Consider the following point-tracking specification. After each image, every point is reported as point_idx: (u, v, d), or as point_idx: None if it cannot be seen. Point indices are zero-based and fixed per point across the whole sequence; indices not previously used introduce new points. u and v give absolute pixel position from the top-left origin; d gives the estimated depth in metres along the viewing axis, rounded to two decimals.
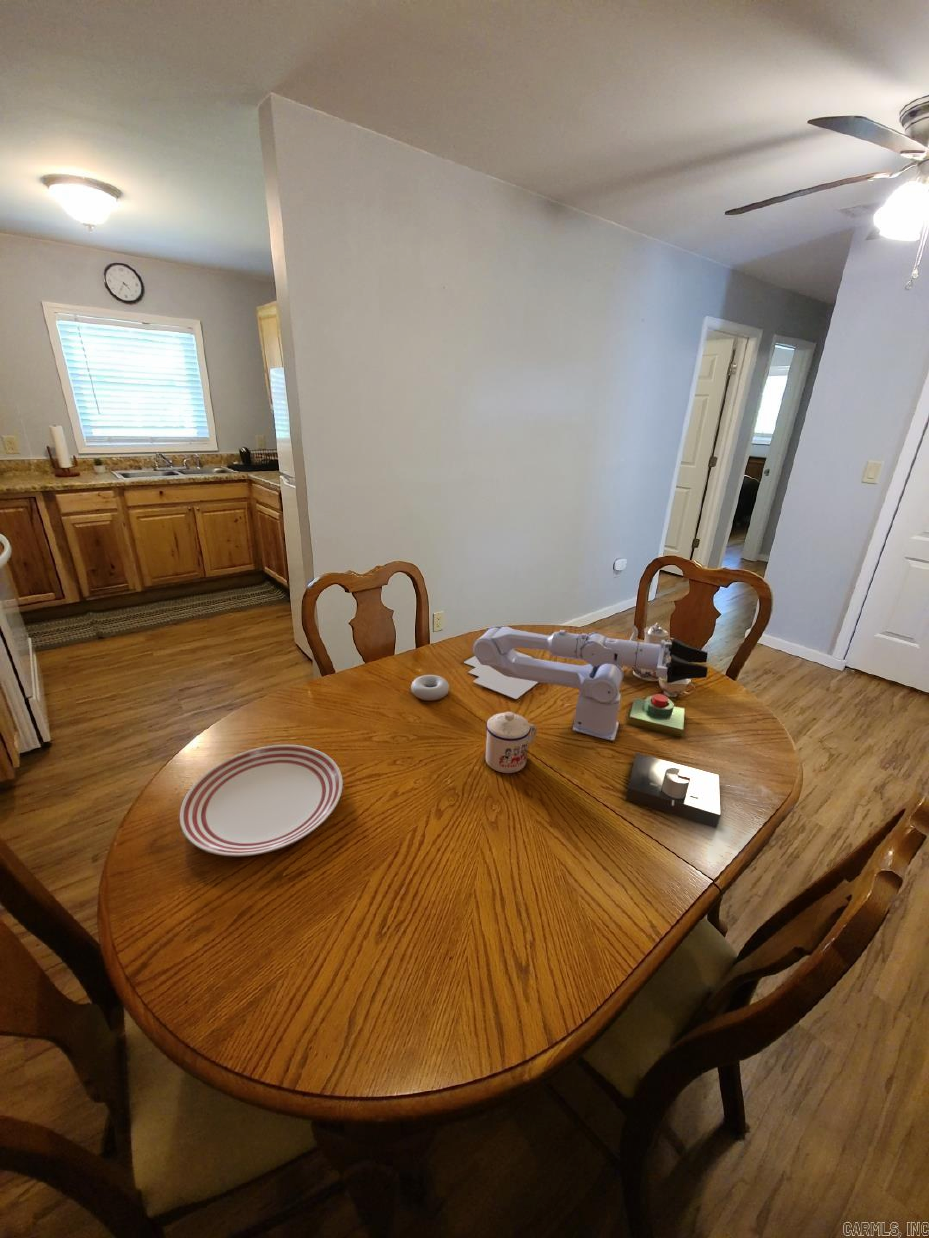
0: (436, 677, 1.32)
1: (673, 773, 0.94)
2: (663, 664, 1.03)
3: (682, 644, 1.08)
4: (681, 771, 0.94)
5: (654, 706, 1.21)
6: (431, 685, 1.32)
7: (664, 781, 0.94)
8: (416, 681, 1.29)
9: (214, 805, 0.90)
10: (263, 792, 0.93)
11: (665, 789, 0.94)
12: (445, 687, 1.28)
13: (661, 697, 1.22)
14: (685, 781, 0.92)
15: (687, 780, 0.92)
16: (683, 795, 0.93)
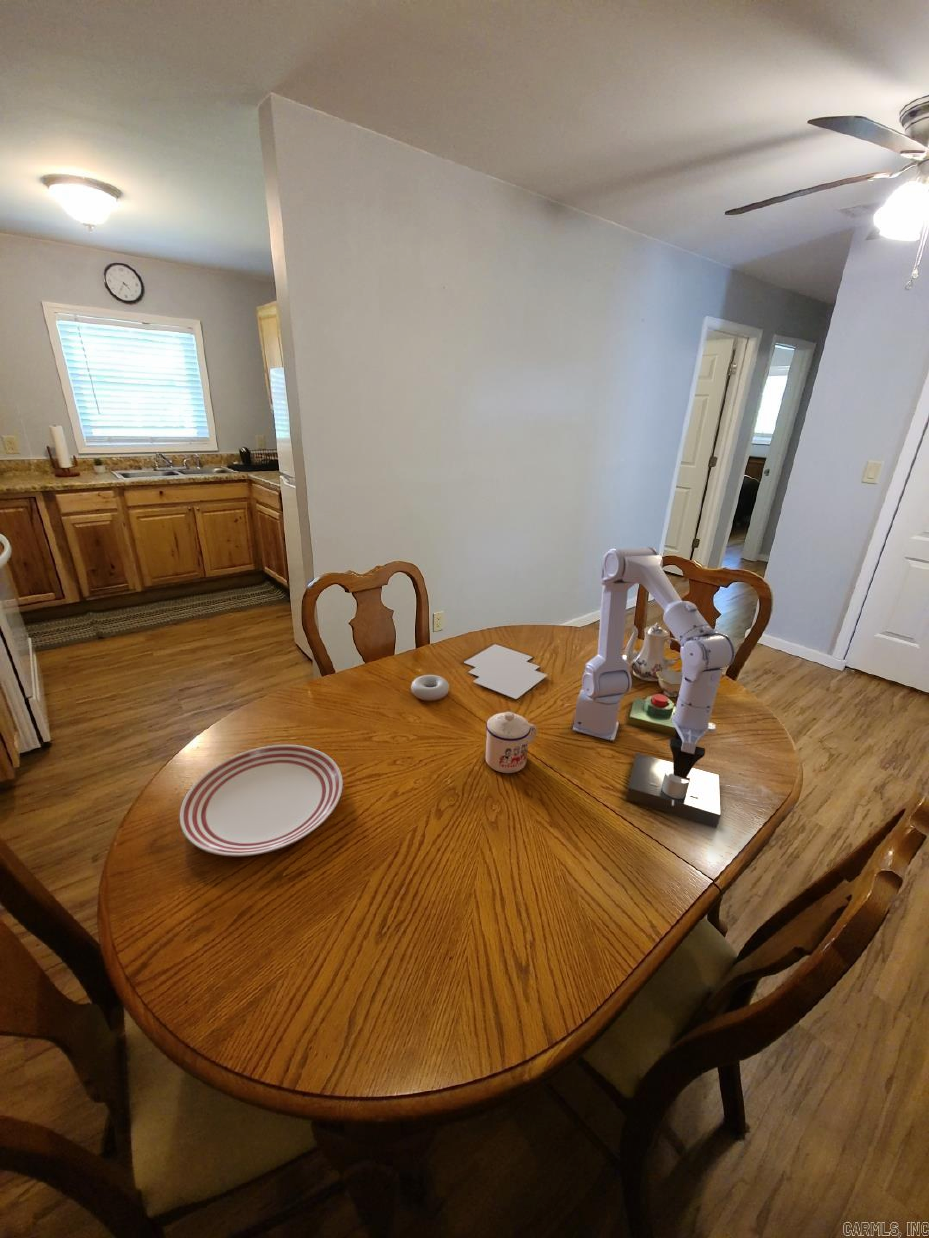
0: (436, 677, 1.32)
1: (673, 773, 0.94)
2: None
3: None
4: None
5: (654, 706, 1.21)
6: (431, 685, 1.32)
7: (664, 781, 0.94)
8: (416, 681, 1.29)
9: (214, 805, 0.90)
10: (263, 792, 0.93)
11: (665, 789, 0.94)
12: (445, 687, 1.28)
13: (661, 697, 1.22)
14: (685, 781, 0.92)
15: (687, 780, 0.92)
16: (683, 795, 0.93)
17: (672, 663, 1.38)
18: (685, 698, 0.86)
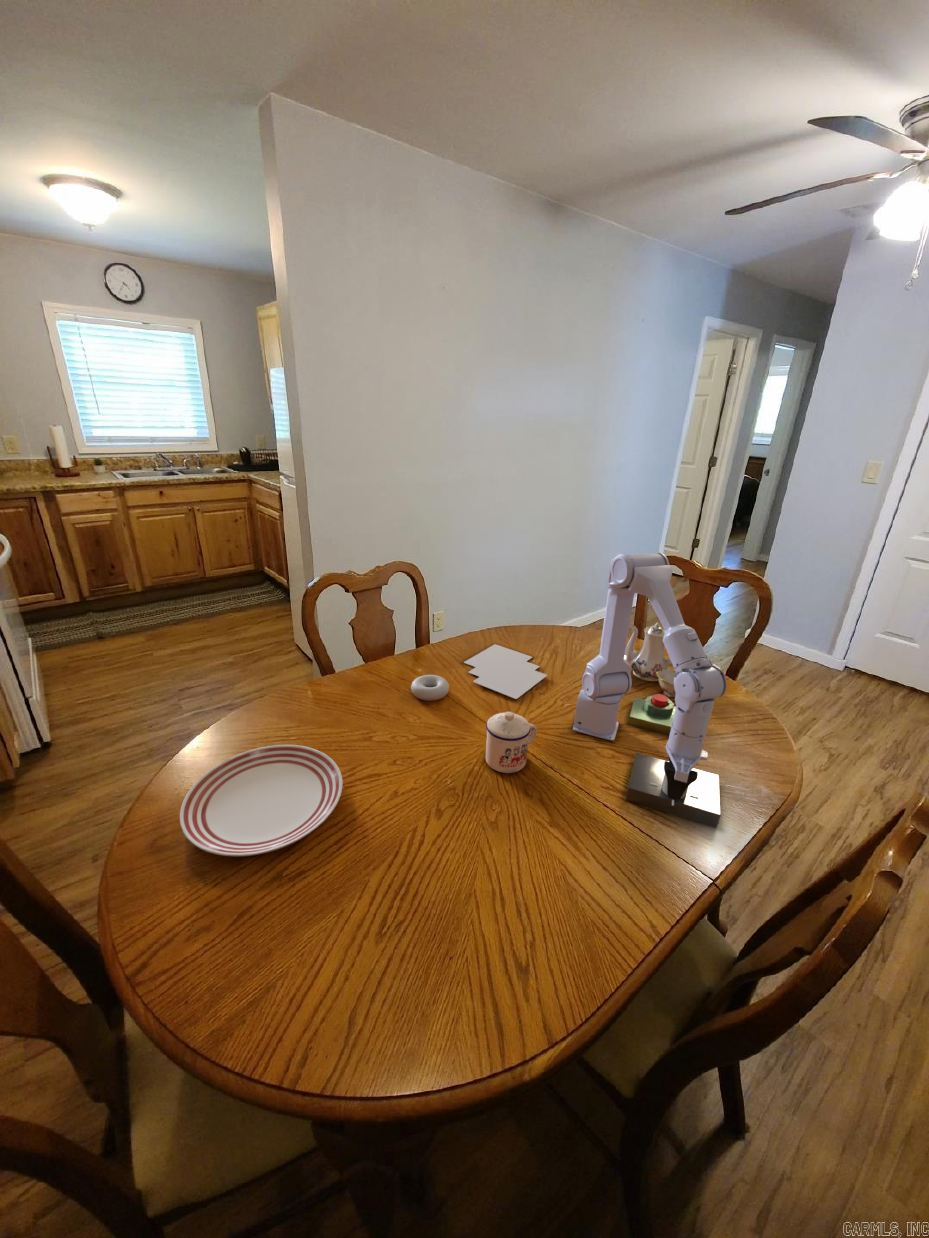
0: (436, 677, 1.32)
1: None
2: None
3: None
4: None
5: (654, 706, 1.21)
6: (431, 685, 1.32)
7: (664, 781, 0.94)
8: (416, 681, 1.29)
9: (214, 805, 0.90)
10: (263, 792, 0.93)
11: (665, 789, 0.94)
12: (445, 687, 1.28)
13: (661, 697, 1.22)
14: None
15: None
16: (683, 795, 0.93)
17: None
18: (678, 727, 0.88)
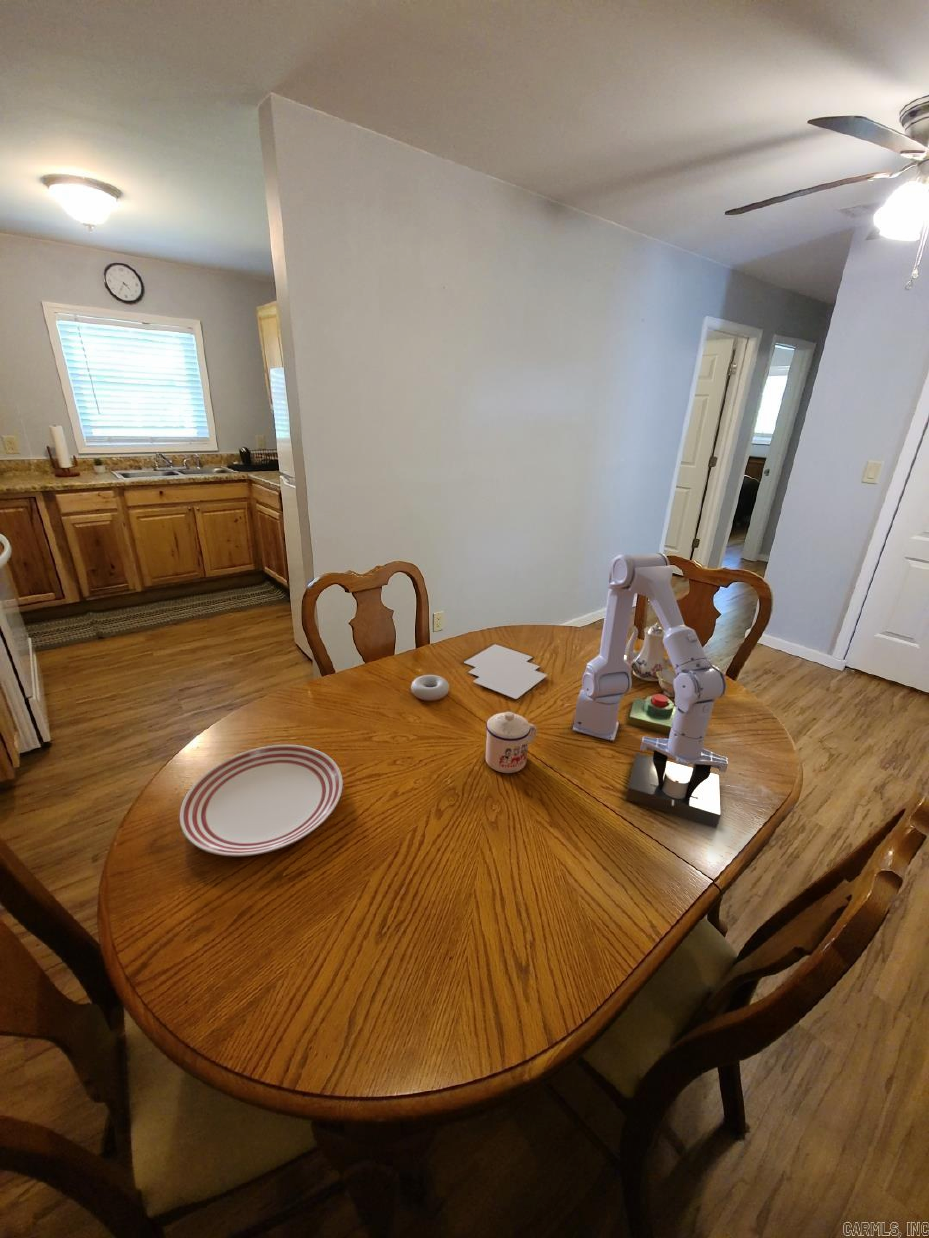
0: (436, 677, 1.32)
1: (678, 773, 0.94)
2: (661, 749, 0.92)
3: (696, 779, 0.90)
4: (686, 779, 0.92)
5: (654, 706, 1.21)
6: (431, 685, 1.32)
7: None
8: (416, 681, 1.29)
9: (214, 805, 0.90)
10: (263, 792, 0.93)
11: None
12: (445, 687, 1.28)
13: (661, 697, 1.22)
14: (670, 777, 0.92)
15: (672, 779, 0.92)
16: (665, 790, 0.94)
17: None
18: (678, 728, 0.88)
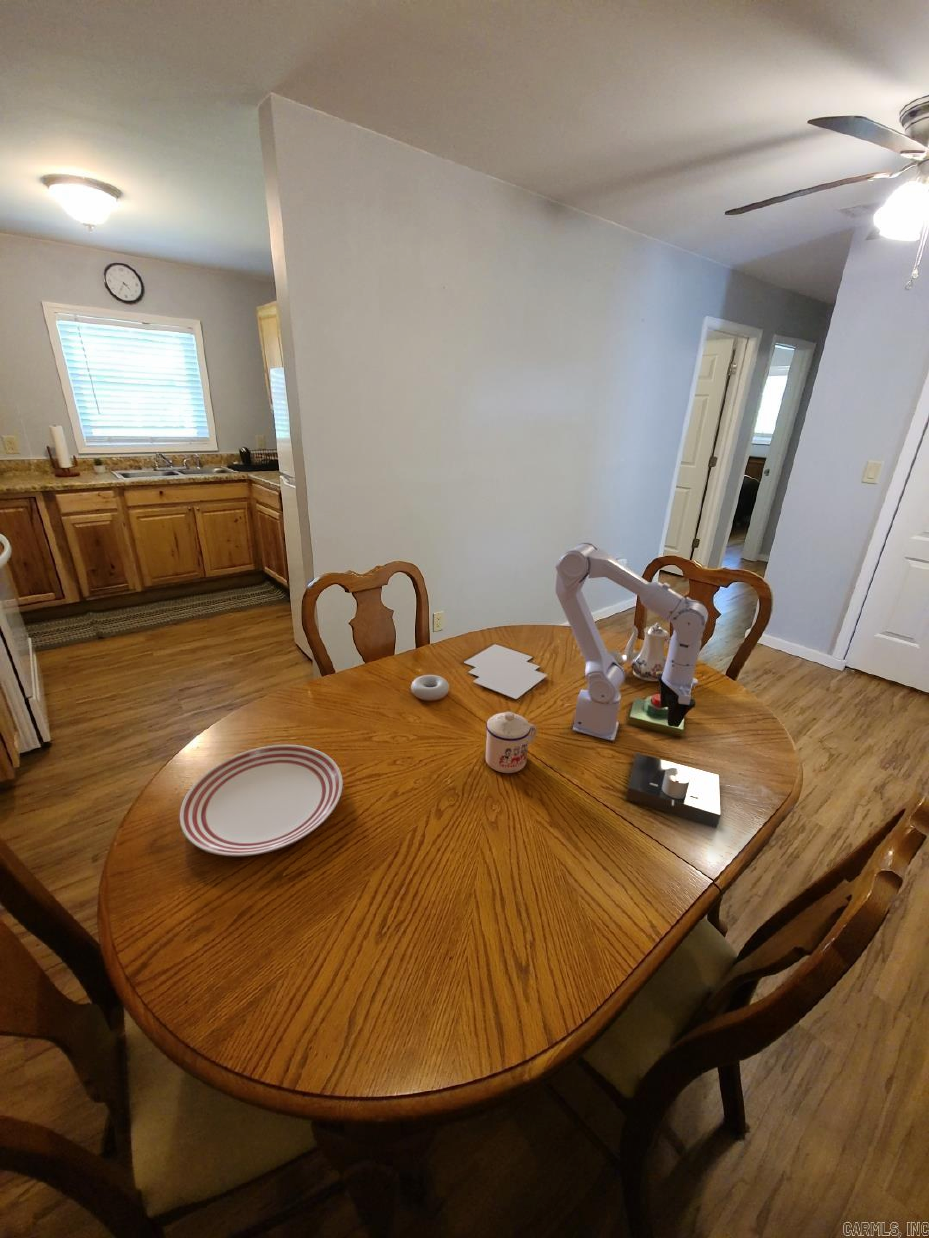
0: (436, 677, 1.32)
1: (679, 773, 0.94)
2: None
3: None
4: (686, 779, 0.92)
5: (654, 706, 1.21)
6: (431, 685, 1.32)
7: None
8: (416, 681, 1.29)
9: (214, 805, 0.90)
10: (263, 792, 0.93)
11: None
12: (445, 687, 1.28)
13: None
14: (670, 777, 0.93)
15: (672, 779, 0.92)
16: (665, 790, 0.94)
17: None
18: (682, 661, 1.00)
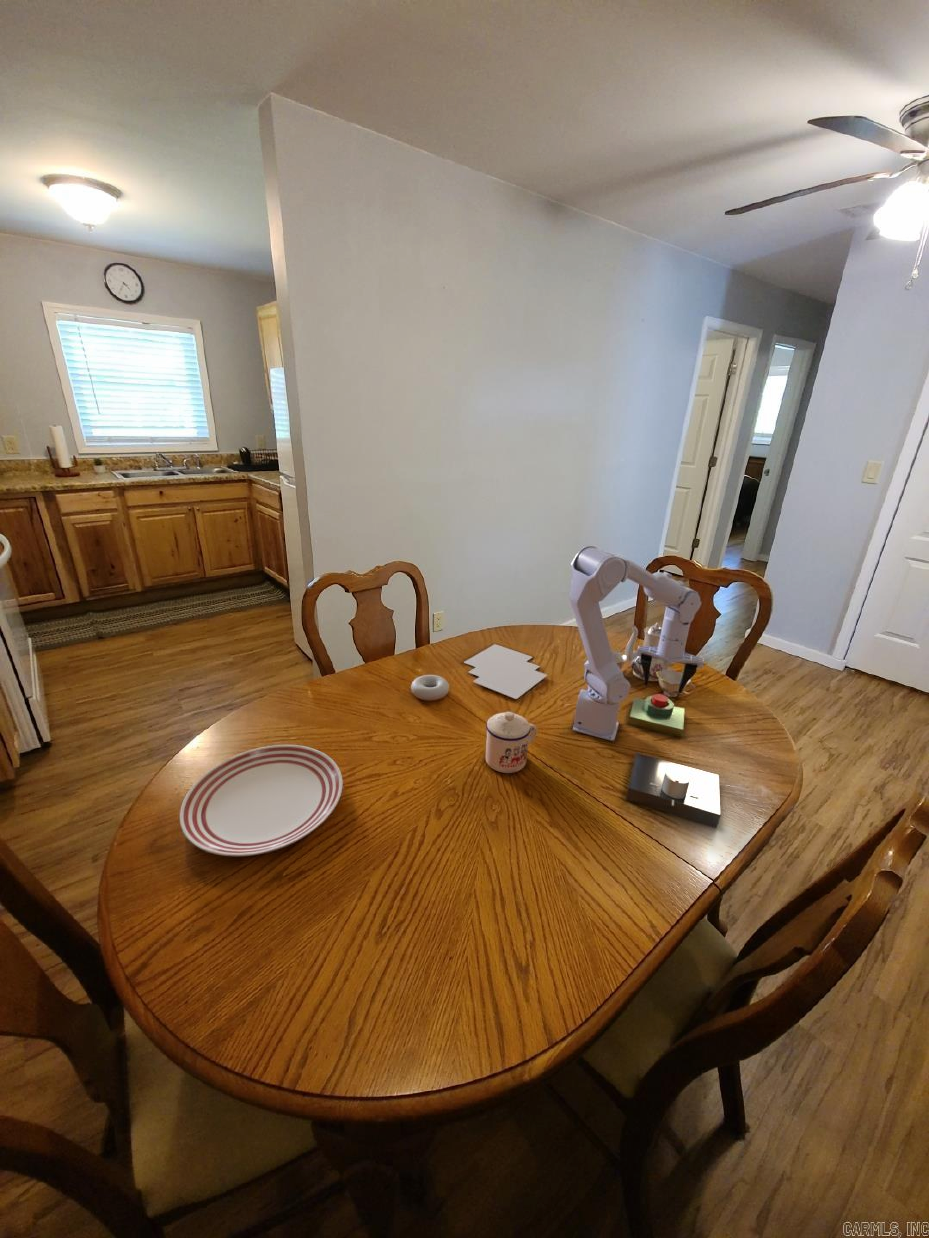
0: (436, 677, 1.32)
1: (679, 773, 0.94)
2: None
3: None
4: (686, 779, 0.92)
5: (654, 706, 1.21)
6: (431, 685, 1.32)
7: None
8: (416, 681, 1.29)
9: (214, 805, 0.90)
10: (263, 792, 0.93)
11: None
12: (445, 687, 1.28)
13: (661, 697, 1.22)
14: (670, 777, 0.93)
15: (672, 779, 0.92)
16: (665, 790, 0.94)
17: (672, 663, 1.38)
18: (684, 637, 1.13)
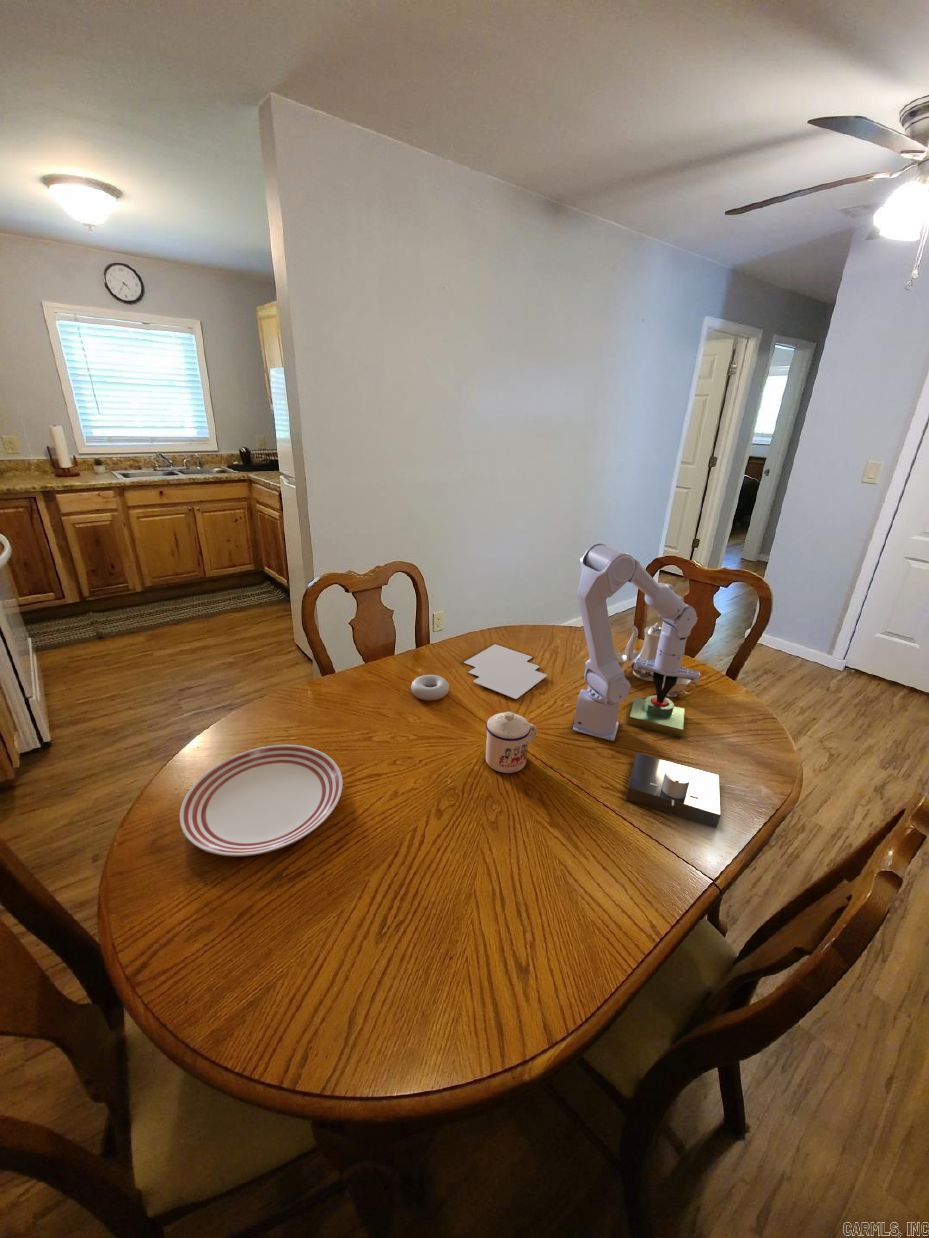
0: (436, 677, 1.32)
1: (679, 773, 0.94)
2: None
3: None
4: (686, 779, 0.92)
5: (654, 706, 1.21)
6: (431, 685, 1.32)
7: None
8: (416, 681, 1.29)
9: (214, 805, 0.90)
10: (263, 792, 0.93)
11: None
12: (445, 687, 1.28)
13: None
14: (670, 777, 0.93)
15: (672, 779, 0.92)
16: (665, 790, 0.94)
17: None
18: (681, 651, 1.14)
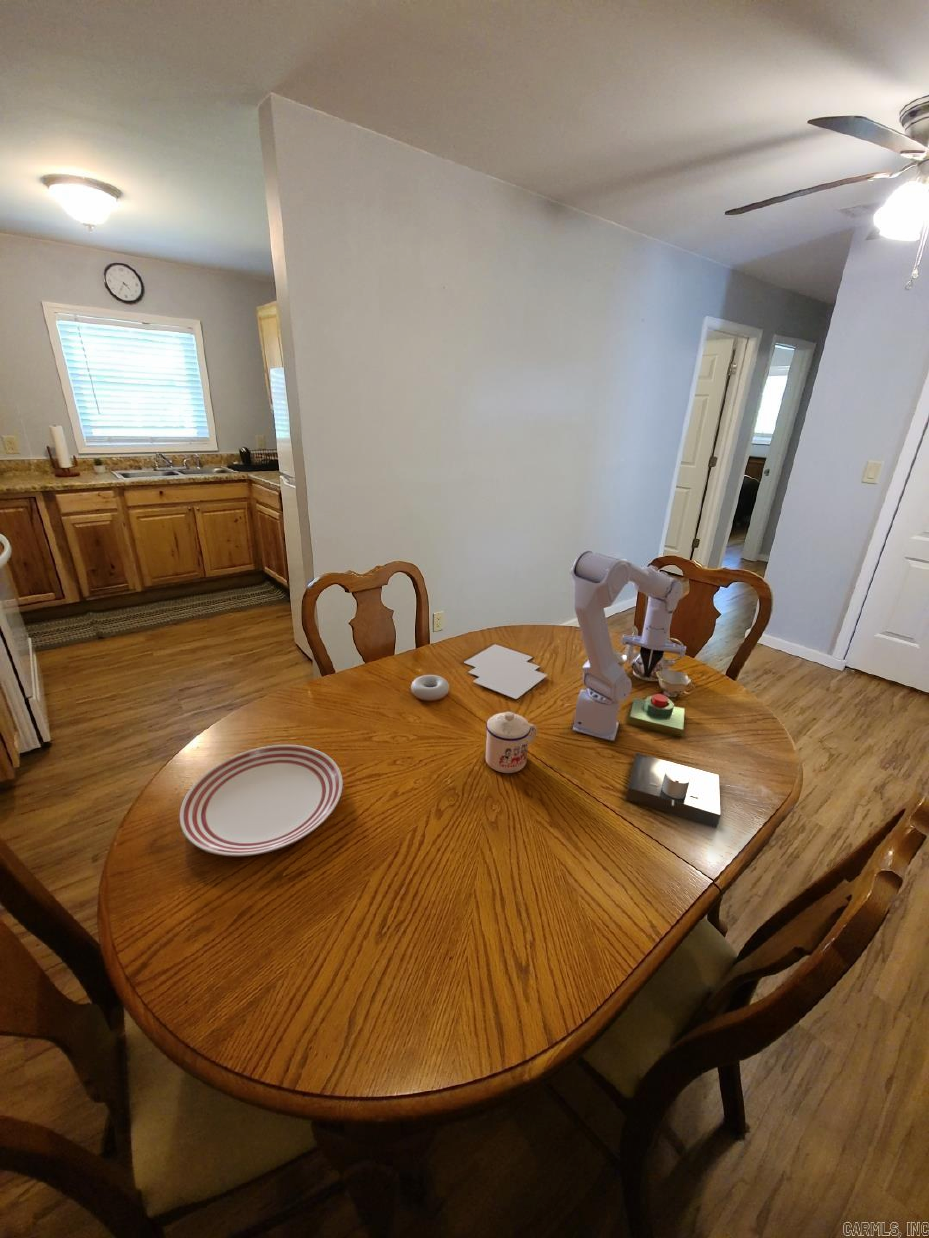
0: (436, 677, 1.32)
1: (679, 773, 0.94)
2: None
3: None
4: (686, 779, 0.92)
5: (654, 706, 1.21)
6: (431, 685, 1.32)
7: None
8: (416, 681, 1.29)
9: (214, 805, 0.90)
10: (263, 792, 0.93)
11: None
12: (445, 687, 1.28)
13: (661, 697, 1.22)
14: (670, 777, 0.93)
15: (672, 779, 0.92)
16: (665, 790, 0.94)
17: (672, 663, 1.38)
18: (669, 625, 1.16)
